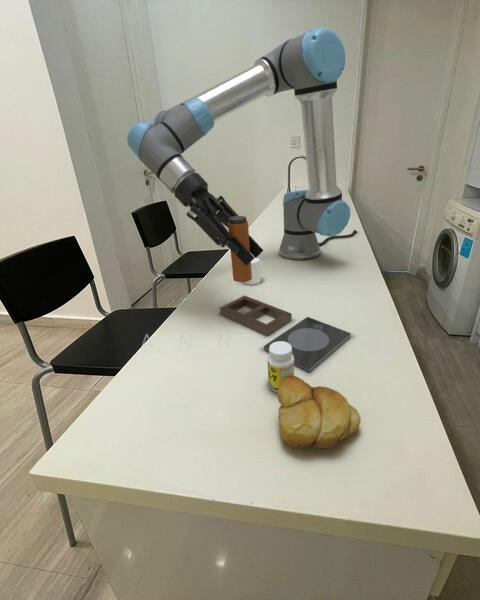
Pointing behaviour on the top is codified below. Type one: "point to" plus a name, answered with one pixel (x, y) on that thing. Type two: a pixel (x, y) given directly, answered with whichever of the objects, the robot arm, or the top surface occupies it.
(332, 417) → the bread roll
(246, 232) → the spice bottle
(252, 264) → the white short cylinder
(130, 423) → the top surface
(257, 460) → the top surface
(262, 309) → the frame
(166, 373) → the top surface
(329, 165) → the robot arm
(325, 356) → the hob plate
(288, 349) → the supplement bottle
